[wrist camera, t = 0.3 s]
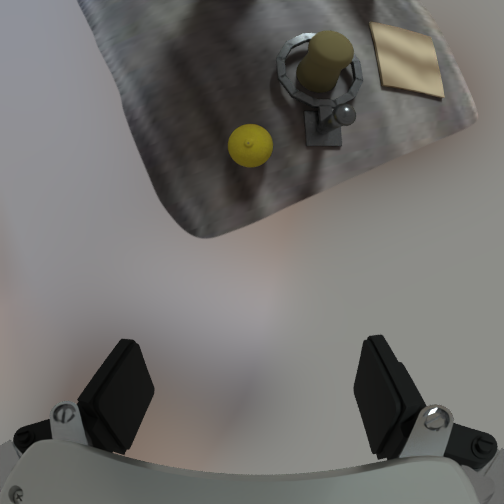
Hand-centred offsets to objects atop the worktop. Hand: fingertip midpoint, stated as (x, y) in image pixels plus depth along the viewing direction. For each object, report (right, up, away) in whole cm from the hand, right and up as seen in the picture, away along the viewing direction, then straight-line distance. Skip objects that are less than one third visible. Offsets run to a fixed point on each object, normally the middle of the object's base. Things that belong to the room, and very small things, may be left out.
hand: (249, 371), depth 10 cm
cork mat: (+25, +35, +19) cm, 47 cm away
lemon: (0, +19, +26) cm, 32 cm away
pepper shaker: (+9, +30, +22) cm, 38 cm away
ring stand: (+10, +28, +22) cm, 37 cm away
